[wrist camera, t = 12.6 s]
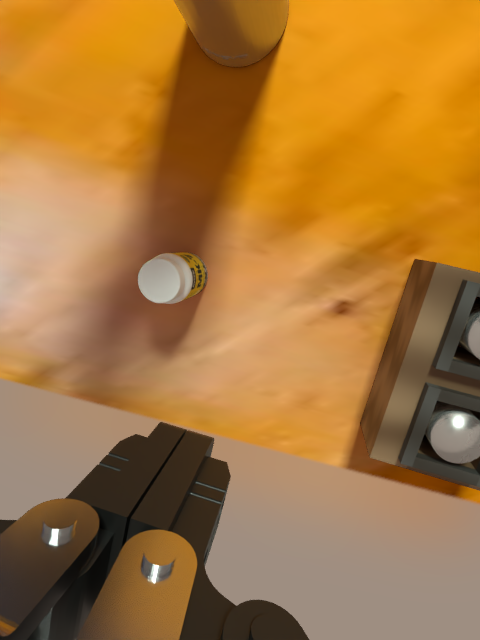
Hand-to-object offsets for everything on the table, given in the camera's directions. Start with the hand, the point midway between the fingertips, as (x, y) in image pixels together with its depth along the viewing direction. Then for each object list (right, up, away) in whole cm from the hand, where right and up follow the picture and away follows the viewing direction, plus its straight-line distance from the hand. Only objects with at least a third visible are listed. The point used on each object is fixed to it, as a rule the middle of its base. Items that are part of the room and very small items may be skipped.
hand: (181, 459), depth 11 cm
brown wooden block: (+22, 0, +29) cm, 37 cm away
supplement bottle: (-4, +9, +32) cm, 34 cm away
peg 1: (+21, -5, +29) cm, 36 cm away
